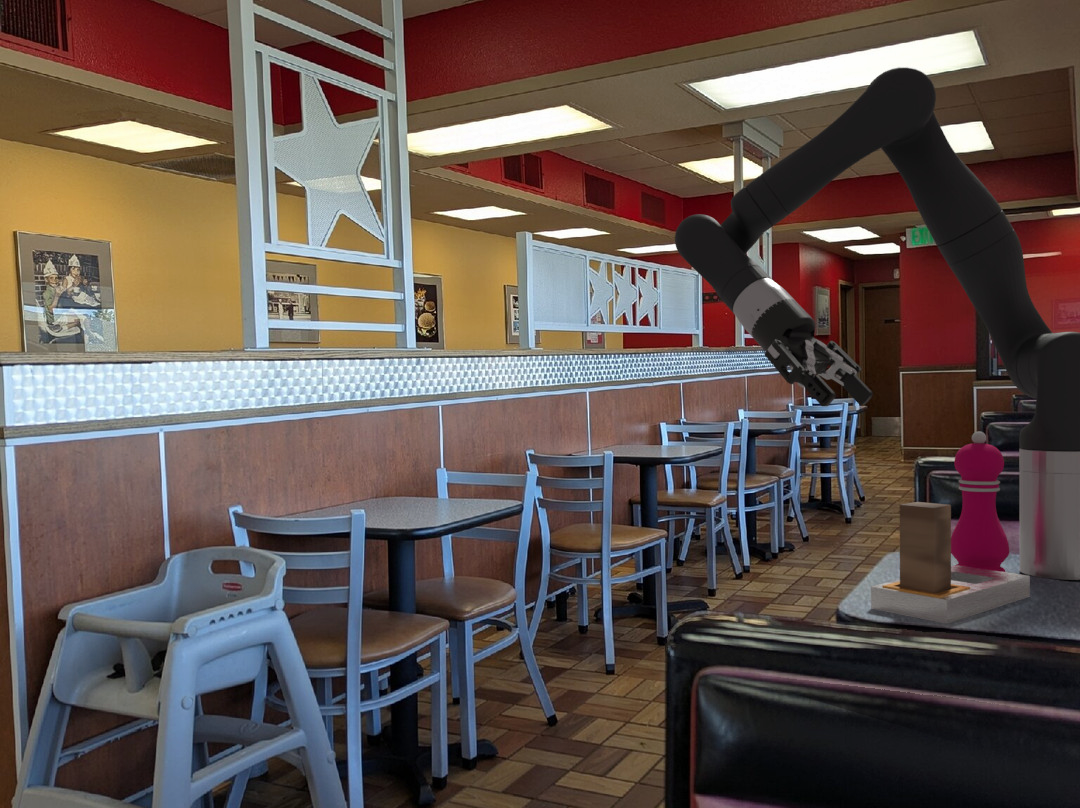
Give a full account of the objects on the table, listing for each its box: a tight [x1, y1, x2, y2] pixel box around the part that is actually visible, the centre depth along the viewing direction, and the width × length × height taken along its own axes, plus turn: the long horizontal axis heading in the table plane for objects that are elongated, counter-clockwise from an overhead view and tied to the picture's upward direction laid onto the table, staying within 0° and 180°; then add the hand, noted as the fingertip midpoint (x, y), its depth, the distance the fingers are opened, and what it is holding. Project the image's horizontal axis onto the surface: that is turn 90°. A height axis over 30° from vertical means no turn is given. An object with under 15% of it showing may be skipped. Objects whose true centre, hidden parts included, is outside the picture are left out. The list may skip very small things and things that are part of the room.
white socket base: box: [870, 564, 1031, 624], centre depth 109 cm, size 20×9×3 cm, turn 129°
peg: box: [899, 501, 952, 593], centre depth 105 cm, size 4×4×12 cm
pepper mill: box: [951, 430, 1010, 572], centre depth 123 cm, size 7×7×20 cm
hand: (849, 401), depth 118 cm, fingers open, 8 cm apart
